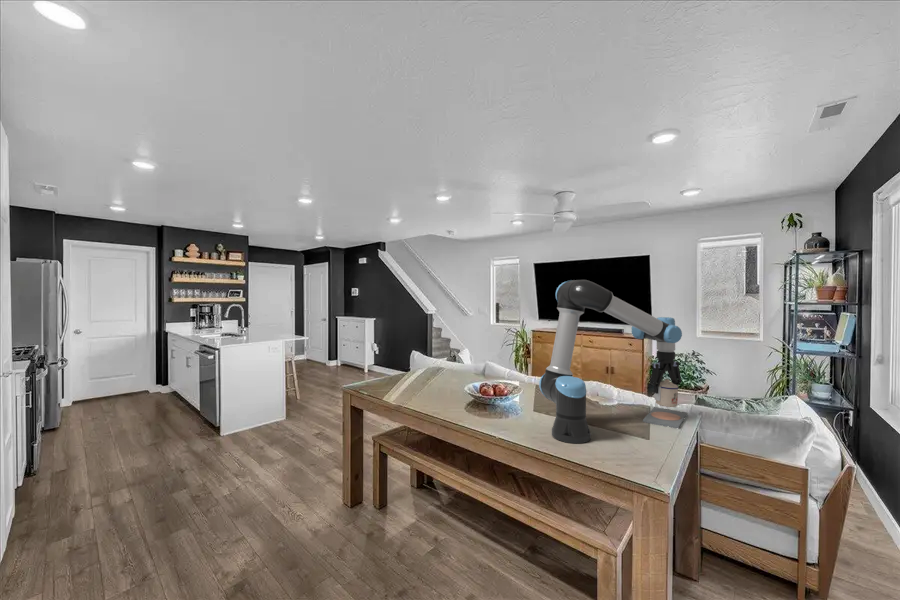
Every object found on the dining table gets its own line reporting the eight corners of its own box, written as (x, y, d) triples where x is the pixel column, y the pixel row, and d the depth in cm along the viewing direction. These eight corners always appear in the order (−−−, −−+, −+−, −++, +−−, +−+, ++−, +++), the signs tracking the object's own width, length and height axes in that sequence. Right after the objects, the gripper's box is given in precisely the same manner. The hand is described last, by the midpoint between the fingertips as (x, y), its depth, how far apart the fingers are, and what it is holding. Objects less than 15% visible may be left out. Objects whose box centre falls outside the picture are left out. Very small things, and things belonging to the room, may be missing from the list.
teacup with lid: (676, 408, 169) (677, 382, 169) (653, 404, 174) (654, 379, 174) (680, 403, 178) (681, 378, 178) (658, 399, 184) (659, 375, 184)
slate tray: (678, 428, 162) (678, 426, 162) (642, 421, 171) (642, 419, 171) (687, 414, 181) (687, 412, 181) (654, 409, 190) (654, 406, 190)
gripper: (676, 348, 183) (676, 394, 183) (640, 351, 176) (640, 399, 176) (690, 350, 175) (690, 398, 176) (654, 353, 168) (654, 403, 169)
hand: (665, 399), depth 176 cm, fingers closed on teacup with lid, 9 cm apart
